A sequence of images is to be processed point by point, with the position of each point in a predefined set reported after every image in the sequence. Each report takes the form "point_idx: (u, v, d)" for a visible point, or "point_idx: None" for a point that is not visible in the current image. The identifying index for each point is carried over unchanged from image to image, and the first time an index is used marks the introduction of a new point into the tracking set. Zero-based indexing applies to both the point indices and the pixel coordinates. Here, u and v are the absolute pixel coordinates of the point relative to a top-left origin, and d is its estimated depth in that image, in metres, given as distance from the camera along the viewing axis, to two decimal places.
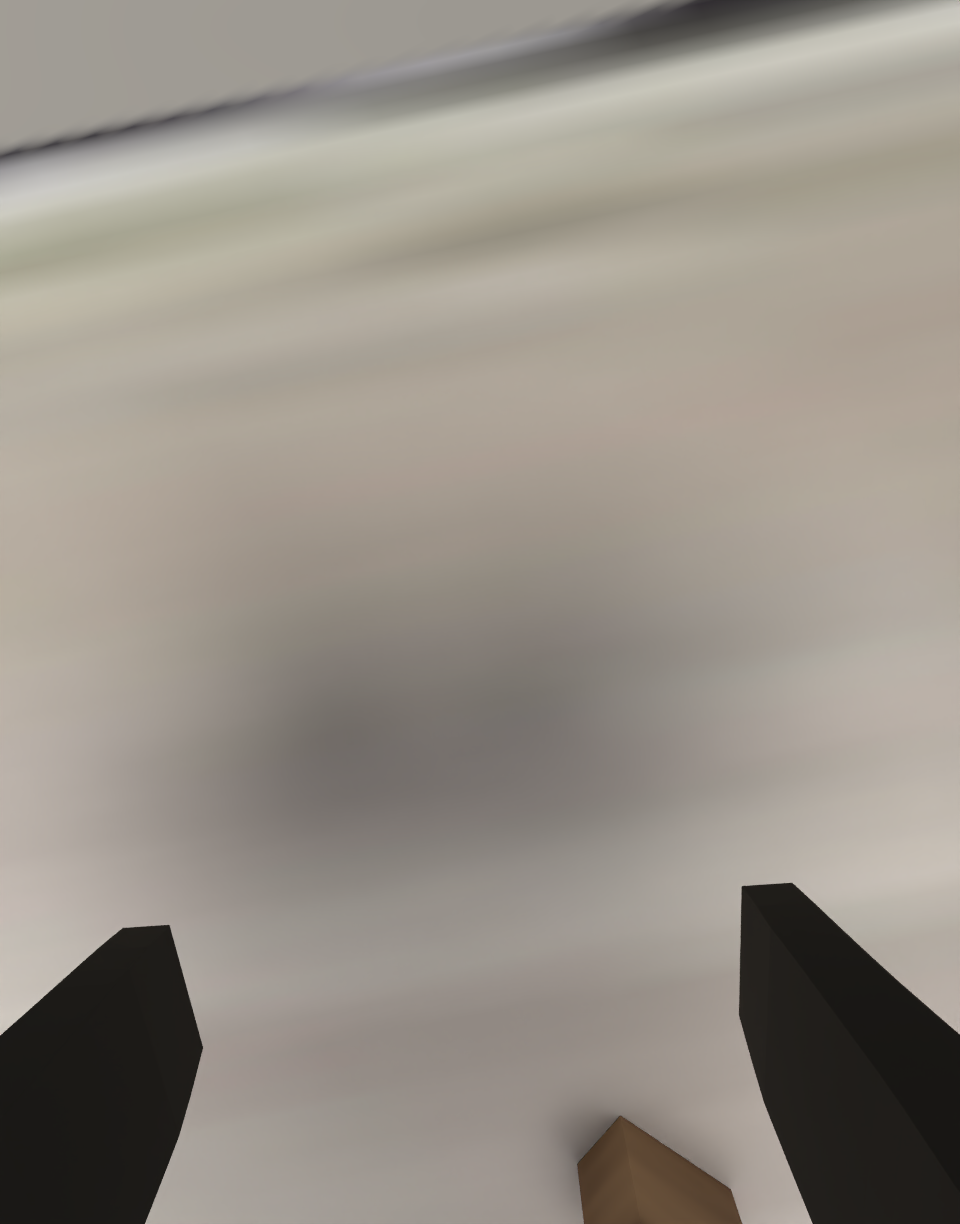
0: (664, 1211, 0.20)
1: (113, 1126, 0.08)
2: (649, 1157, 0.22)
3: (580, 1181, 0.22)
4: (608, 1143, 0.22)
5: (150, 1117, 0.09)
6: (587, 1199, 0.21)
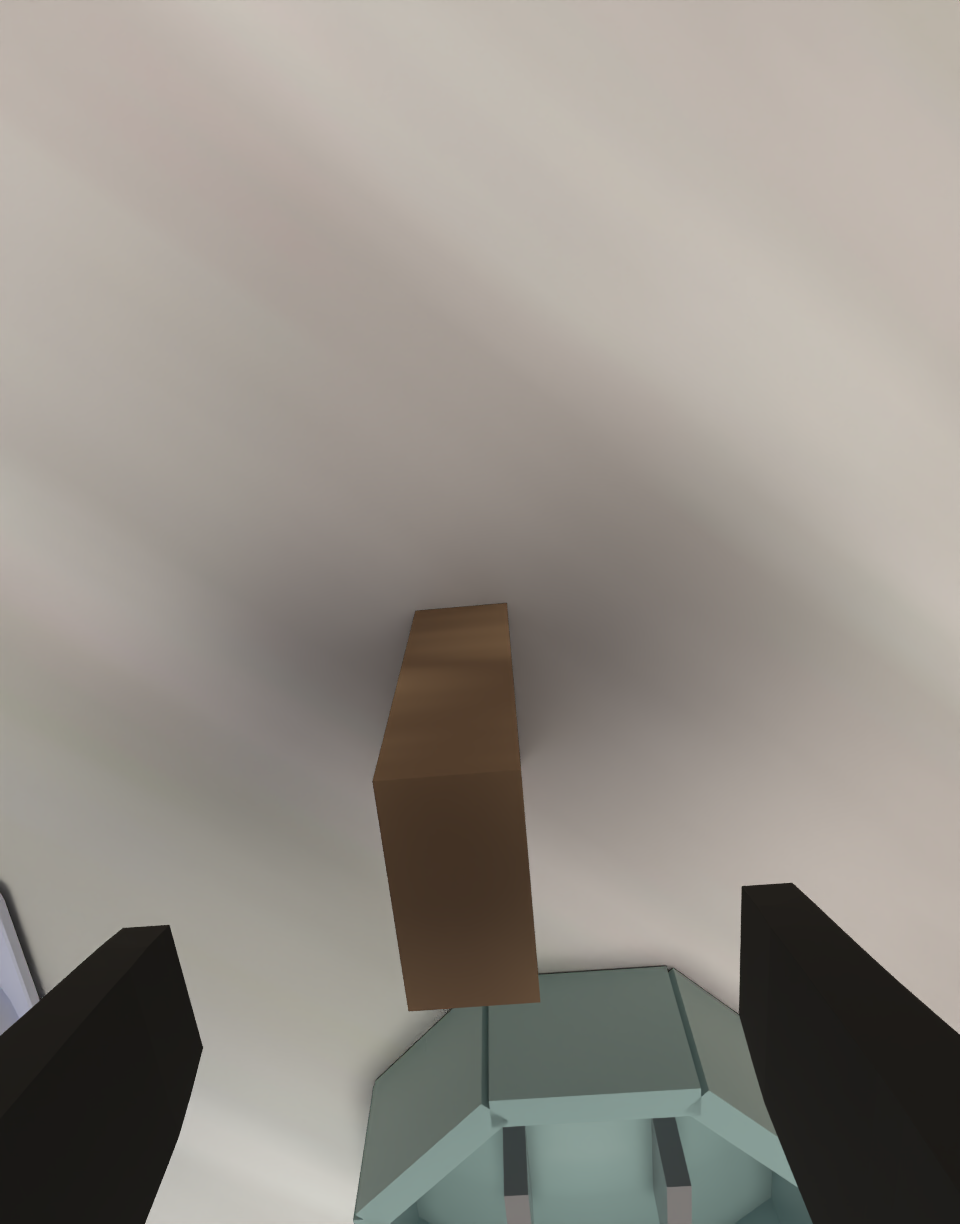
0: None
1: (113, 1126, 0.08)
2: None
3: (415, 619, 0.17)
4: (478, 612, 0.17)
5: (150, 1117, 0.09)
6: (421, 630, 0.16)
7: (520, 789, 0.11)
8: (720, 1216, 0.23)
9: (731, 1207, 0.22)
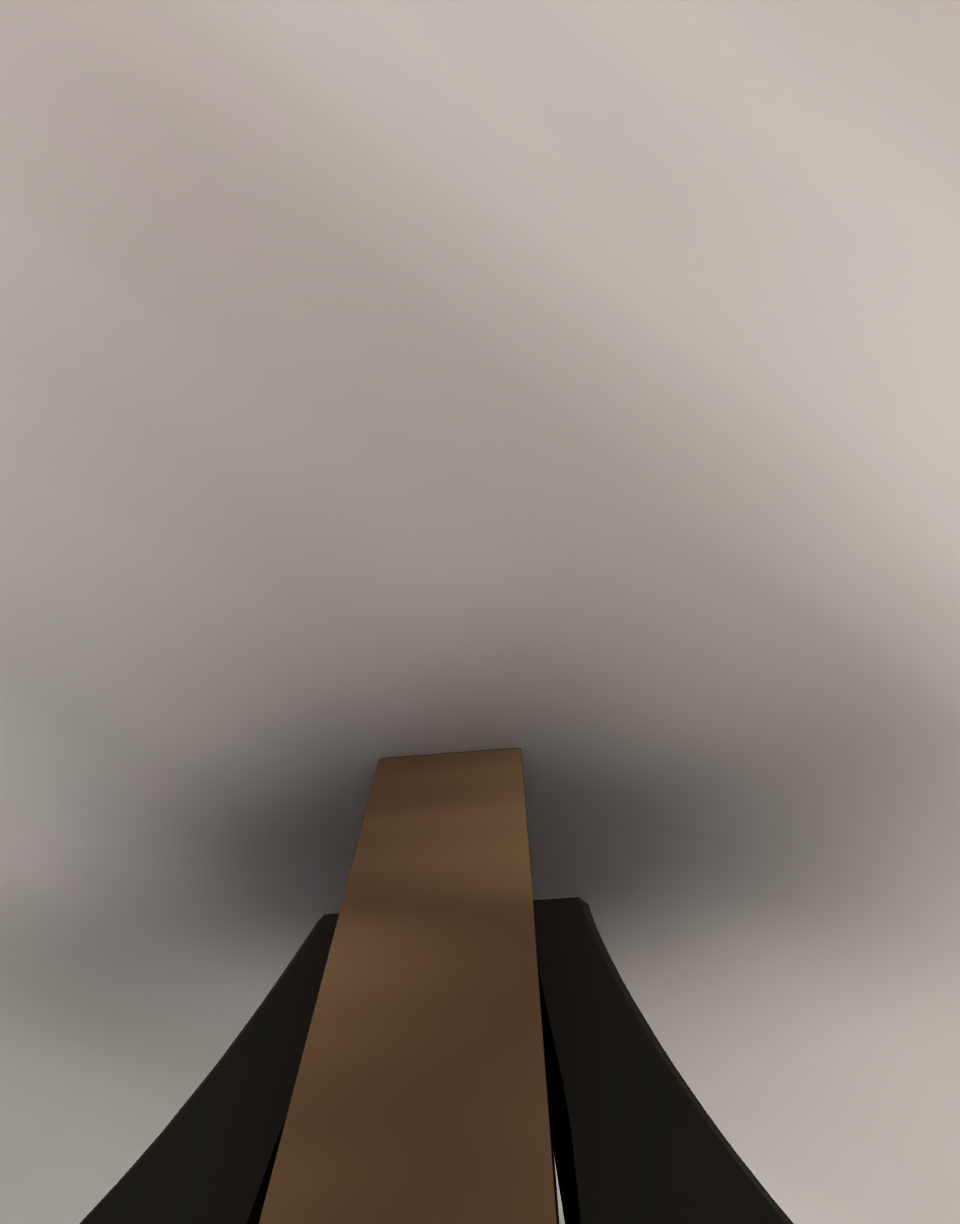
0: (534, 923, 0.09)
1: None
2: None
3: (377, 780, 0.11)
4: (475, 766, 0.11)
5: None
6: (383, 809, 0.10)
7: None
8: None
9: None
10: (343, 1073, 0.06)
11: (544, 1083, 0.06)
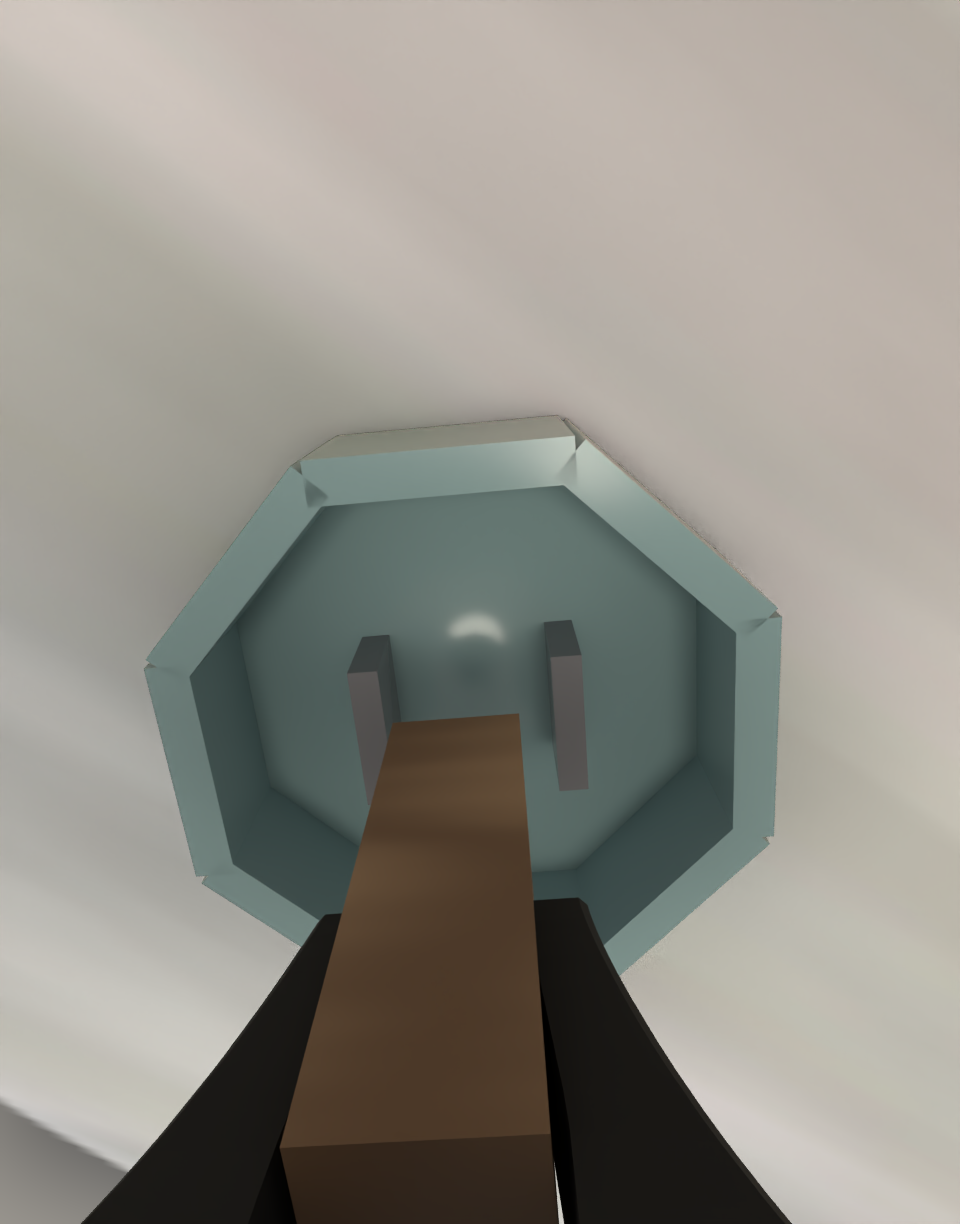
0: None
1: None
2: None
3: (391, 740, 0.12)
4: (478, 728, 0.12)
5: None
6: (397, 761, 0.11)
7: (549, 1161, 0.06)
8: (635, 784, 0.19)
9: (648, 770, 0.18)
10: (369, 953, 0.08)
11: (535, 957, 0.07)
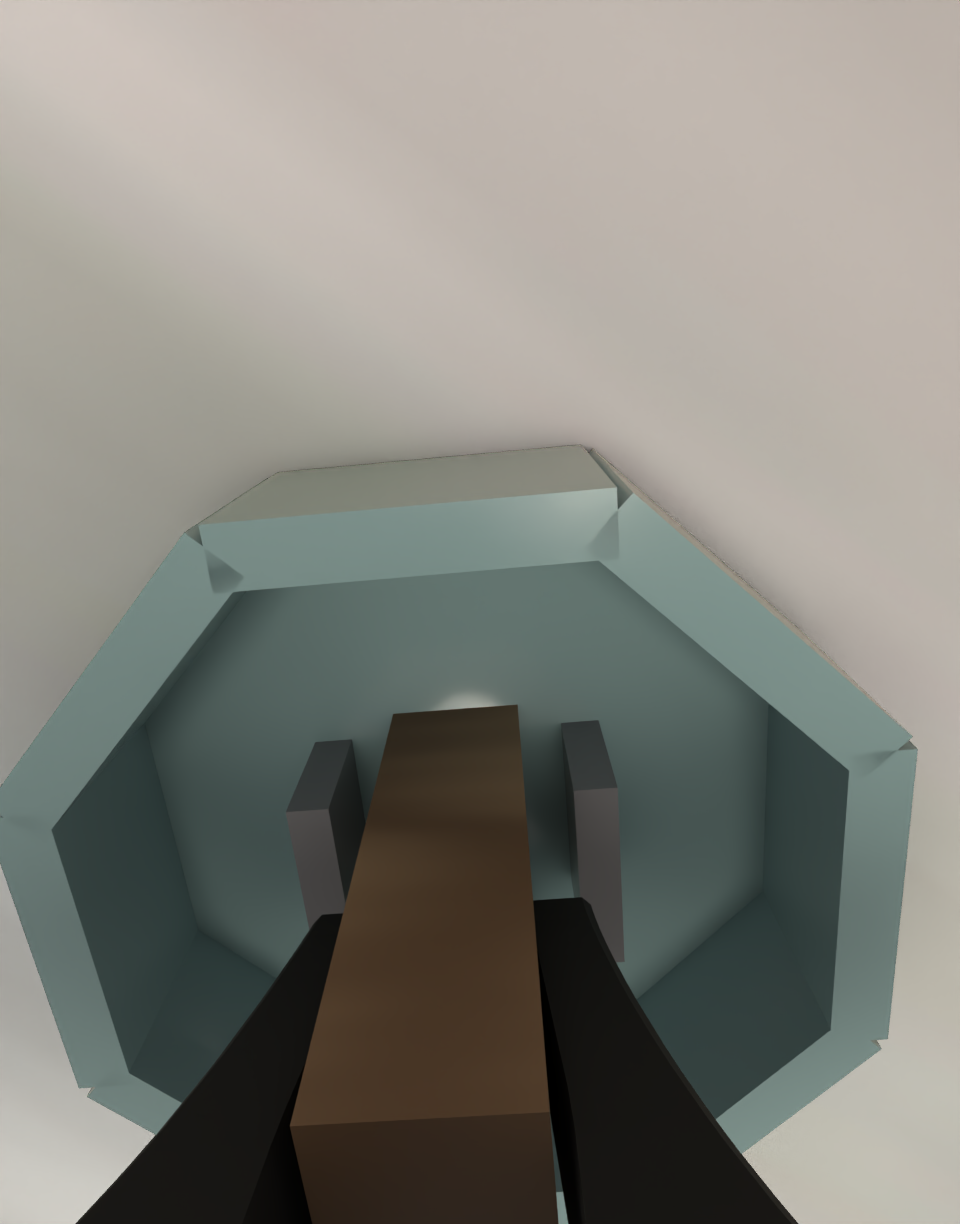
0: None
1: None
2: None
3: (392, 730, 0.12)
4: (478, 719, 0.12)
5: None
6: (398, 752, 0.11)
7: (548, 1139, 0.06)
8: (681, 927, 0.14)
9: (698, 911, 0.14)
10: (373, 940, 0.08)
11: (535, 944, 0.08)
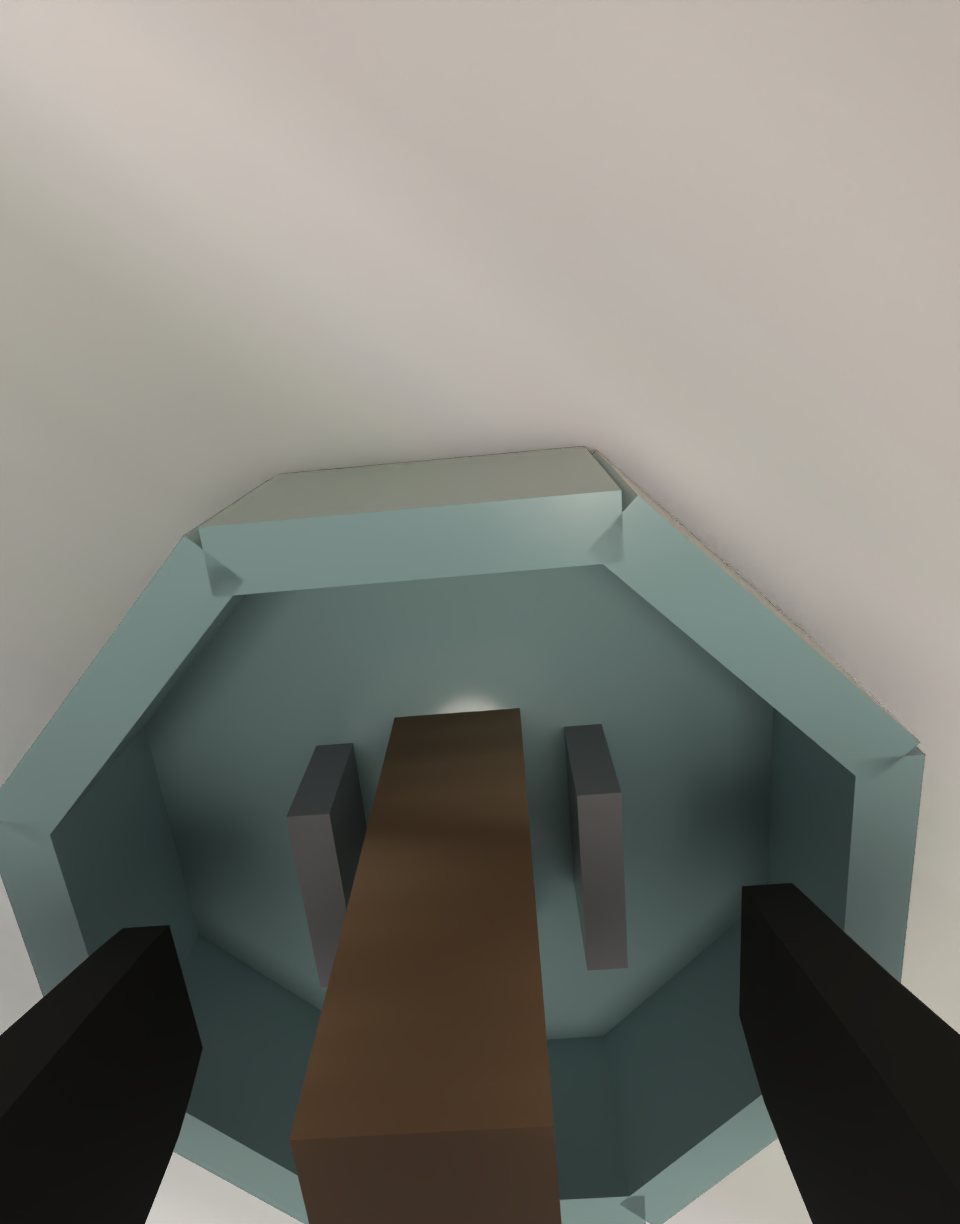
0: None
1: (113, 1126, 0.08)
2: None
3: (393, 734, 0.12)
4: (480, 723, 0.12)
5: (150, 1117, 0.09)
6: (400, 757, 0.11)
7: (552, 1152, 0.06)
8: (684, 933, 0.14)
9: (702, 916, 0.14)
10: (374, 948, 0.08)
11: (538, 952, 0.08)
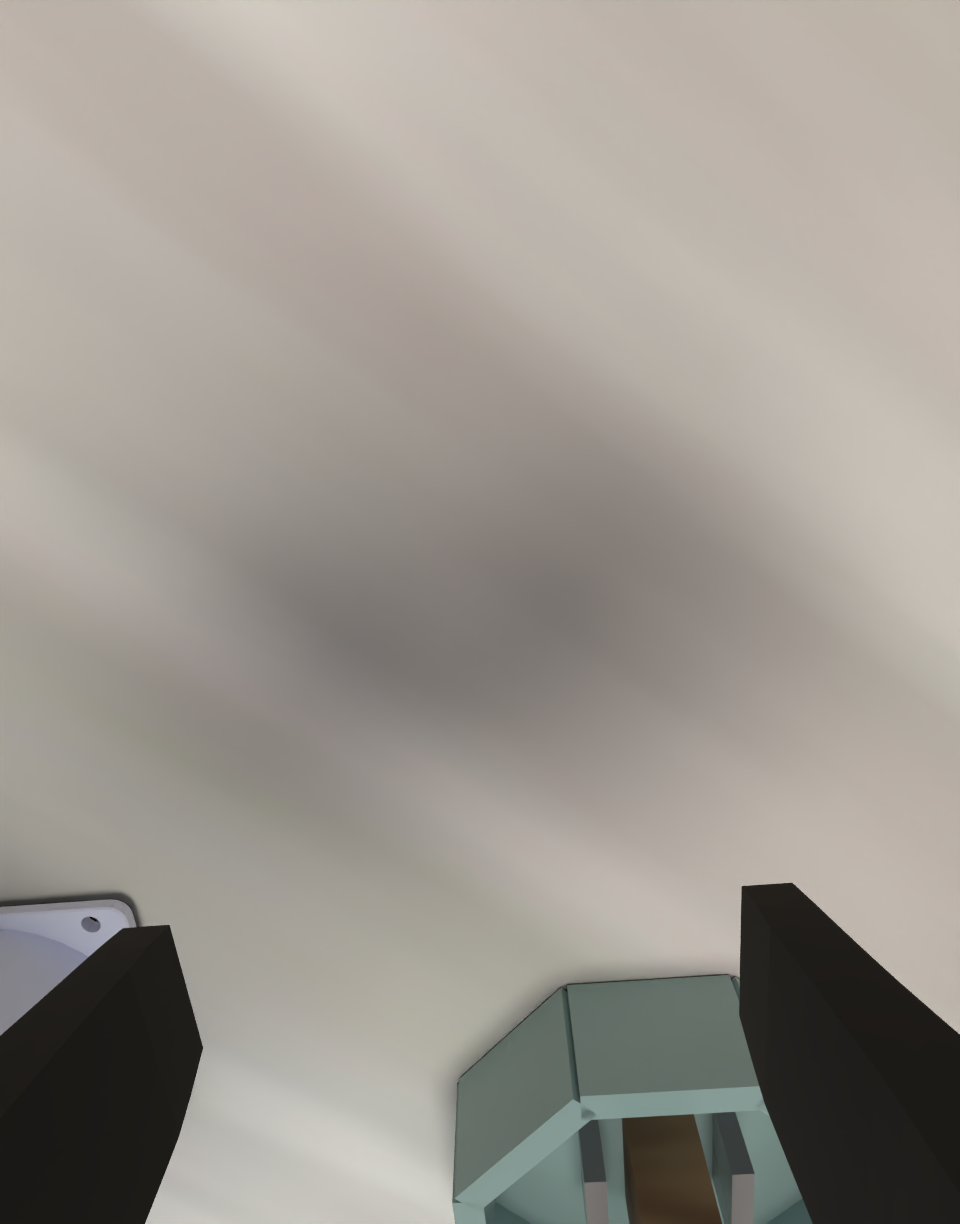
0: None
1: (113, 1126, 0.08)
2: None
3: (626, 1121, 0.23)
4: None
5: (150, 1117, 0.09)
6: (636, 1143, 0.22)
7: None
8: (773, 1203, 0.25)
9: (783, 1195, 0.24)
10: None
11: None
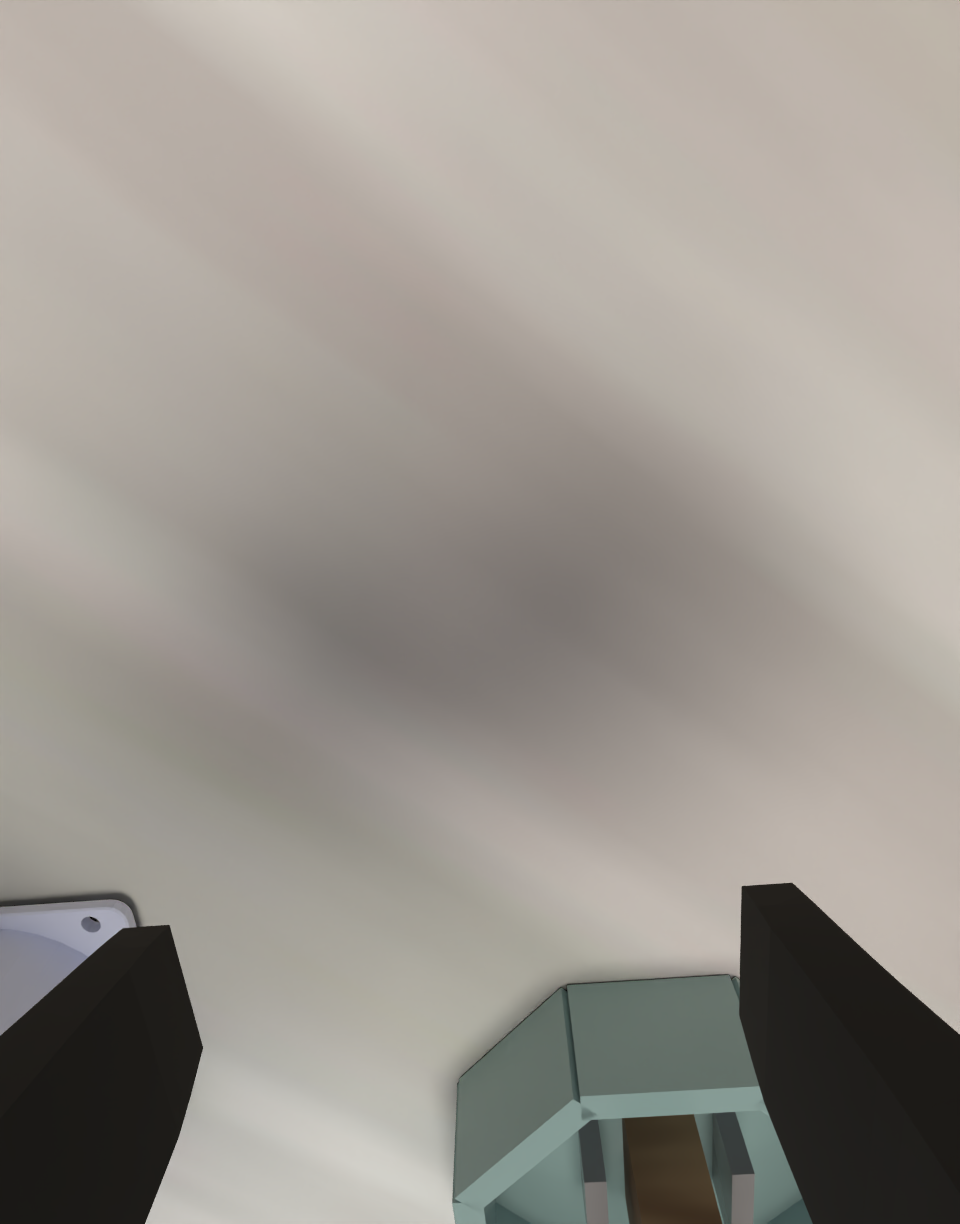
0: None
1: (113, 1126, 0.08)
2: None
3: (626, 1121, 0.23)
4: None
5: (150, 1117, 0.09)
6: (636, 1143, 0.22)
7: None
8: (773, 1203, 0.25)
9: (783, 1195, 0.24)
10: None
11: None
